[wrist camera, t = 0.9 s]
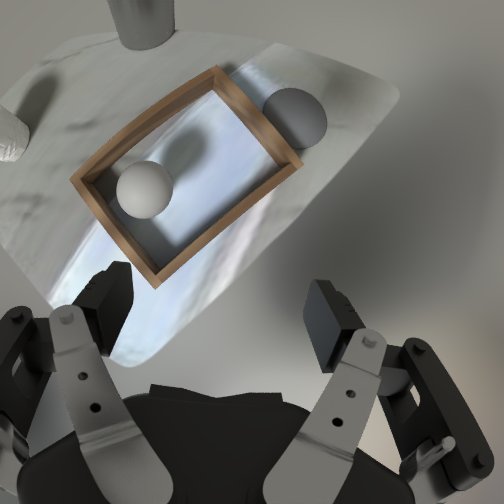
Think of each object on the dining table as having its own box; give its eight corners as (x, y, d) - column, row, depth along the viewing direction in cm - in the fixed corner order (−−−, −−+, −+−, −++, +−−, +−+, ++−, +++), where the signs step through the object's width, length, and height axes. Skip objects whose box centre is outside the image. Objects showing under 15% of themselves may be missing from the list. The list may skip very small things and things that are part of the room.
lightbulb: (130, 216, 34) (103, 213, 23) (138, 171, 33) (116, 151, 23) (173, 223, 35) (163, 222, 24) (182, 177, 35) (176, 158, 24)
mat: (249, 108, 35) (249, 107, 35) (297, 80, 36) (298, 79, 36) (293, 161, 37) (293, 160, 37) (337, 128, 38) (338, 127, 38)
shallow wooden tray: (82, 183, 32) (69, 179, 27) (214, 80, 34) (216, 64, 29) (159, 281, 35) (155, 289, 31) (292, 170, 38) (304, 164, 33)
